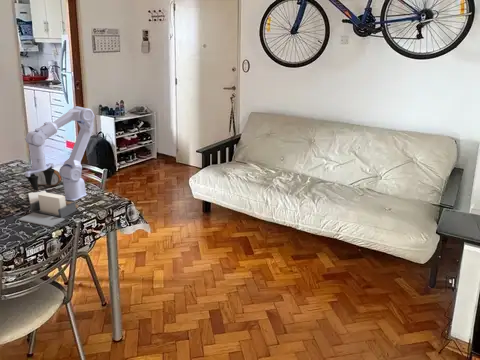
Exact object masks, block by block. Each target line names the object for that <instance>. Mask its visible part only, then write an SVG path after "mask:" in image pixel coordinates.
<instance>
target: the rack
mask: <svg viewBox="0 0 480 360" xmlns="http://www.w3.org/2000/svg"><path fill="white" fill-rule="evenodd" d="M72 202H73V203H71V204H69V205H67V206H65V207H63V208H60V209H58V213H59V215H57V214H52V213H47V212H42V211H40V205H39V200H38V201H35V202H33V203H31V204H29V208H30V213H33V212H34V213H39V214H44V215H49V216H53V217H58V218H63V219H65V217H68V216H70V215H72V214H74V213H75V212H77V208H76V205H77V203H76V202H75V201H72ZM75 203H76V204H75Z"/></svg>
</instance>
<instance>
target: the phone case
mask: <svg viewBox="0 0 480 360" xmlns="http://www.w3.org/2000/svg"><path fill="white" fill-rule="evenodd" d="M43 192H46V193H48V191H47V190H37V191H33V192H28V193H27V198H28V202H29V203H28V204H29V205H30V204H31V203H33V202H35V201H38V200H39V198H38V194H41V193H43Z"/></svg>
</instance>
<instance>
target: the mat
mask: <svg viewBox="0 0 480 360" xmlns="http://www.w3.org/2000/svg"><path fill="white" fill-rule="evenodd" d="M65 220H66V218H58V217H53V216H49V215H44V214H39V213H34V212H33V213H31V212H30V213H29V214H26V215H24V216H22V217H20V218H18V220H17V221H21V222H25V223H30V224H33V225H39V226H44V227H48V228H52V227H55V226H56V225H57V224H60V223H62V222H63V221H65Z"/></svg>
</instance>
